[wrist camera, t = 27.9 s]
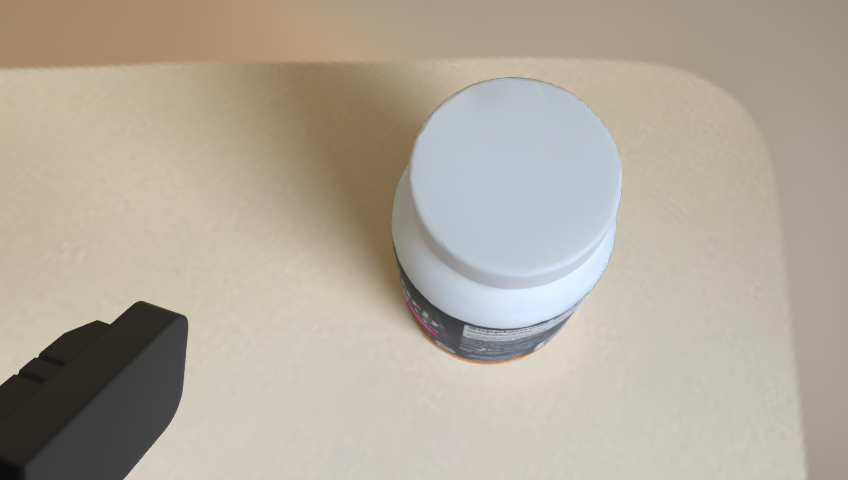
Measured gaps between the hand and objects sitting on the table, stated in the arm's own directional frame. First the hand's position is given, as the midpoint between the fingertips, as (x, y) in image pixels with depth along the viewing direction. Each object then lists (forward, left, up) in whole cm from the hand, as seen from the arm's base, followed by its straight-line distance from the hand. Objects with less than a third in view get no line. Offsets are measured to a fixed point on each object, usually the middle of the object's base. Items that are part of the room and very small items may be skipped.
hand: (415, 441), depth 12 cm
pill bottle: (0, -6, -13) cm, 15 cm away
